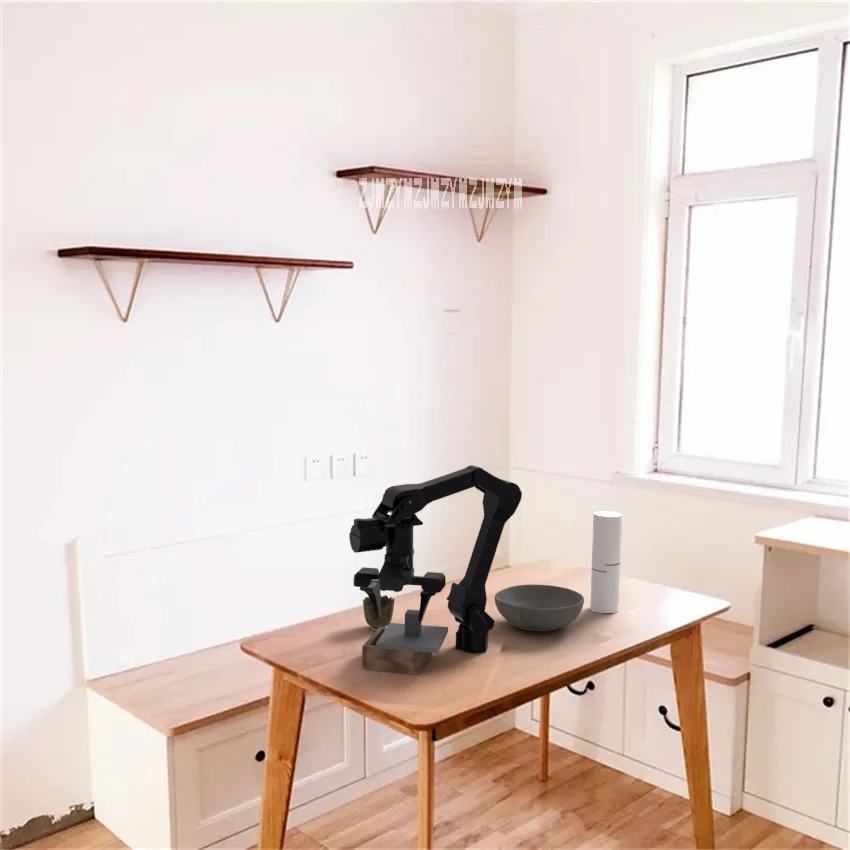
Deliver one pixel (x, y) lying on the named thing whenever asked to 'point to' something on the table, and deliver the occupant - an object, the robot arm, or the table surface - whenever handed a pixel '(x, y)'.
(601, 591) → the cylindrical container
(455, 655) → the table surface
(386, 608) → the cup
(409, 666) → the walnut box
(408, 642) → the lid
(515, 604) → the bowl
